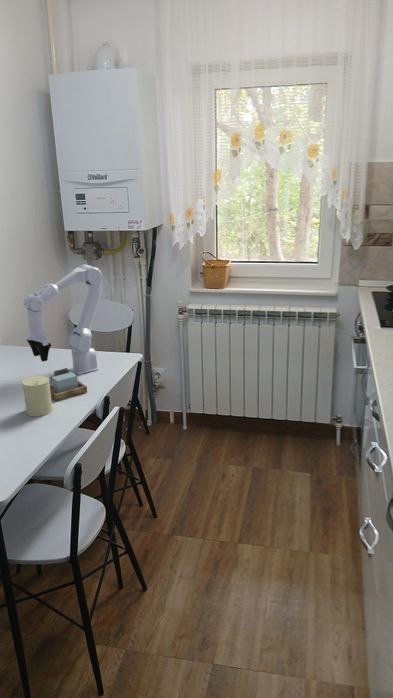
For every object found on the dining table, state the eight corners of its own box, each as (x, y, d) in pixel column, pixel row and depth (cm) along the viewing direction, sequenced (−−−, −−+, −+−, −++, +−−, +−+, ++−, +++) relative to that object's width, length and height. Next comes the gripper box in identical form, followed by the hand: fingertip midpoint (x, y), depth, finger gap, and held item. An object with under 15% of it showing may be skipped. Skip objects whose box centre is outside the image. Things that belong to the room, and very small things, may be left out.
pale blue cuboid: (72, 386, 211) (71, 372, 209) (78, 390, 207) (77, 375, 205) (53, 391, 207) (51, 377, 205) (58, 396, 203) (57, 381, 201)
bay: (67, 375, 223) (66, 367, 222) (76, 382, 216) (75, 374, 215) (54, 379, 220) (53, 371, 219) (63, 385, 213) (62, 377, 212)
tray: (75, 384, 215) (74, 378, 214) (87, 392, 207) (86, 386, 206) (44, 392, 208) (43, 386, 207) (55, 401, 200) (55, 395, 199)
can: (28, 418, 187) (24, 386, 183) (23, 408, 194) (19, 377, 190) (55, 412, 191) (52, 381, 187) (49, 403, 198) (45, 372, 194)
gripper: (19, 323, 215) (24, 355, 219) (33, 331, 204) (38, 365, 208) (37, 320, 219) (40, 351, 223) (51, 328, 208) (55, 361, 212)
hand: (40, 358), depth 216 cm, fingers open, 7 cm apart
